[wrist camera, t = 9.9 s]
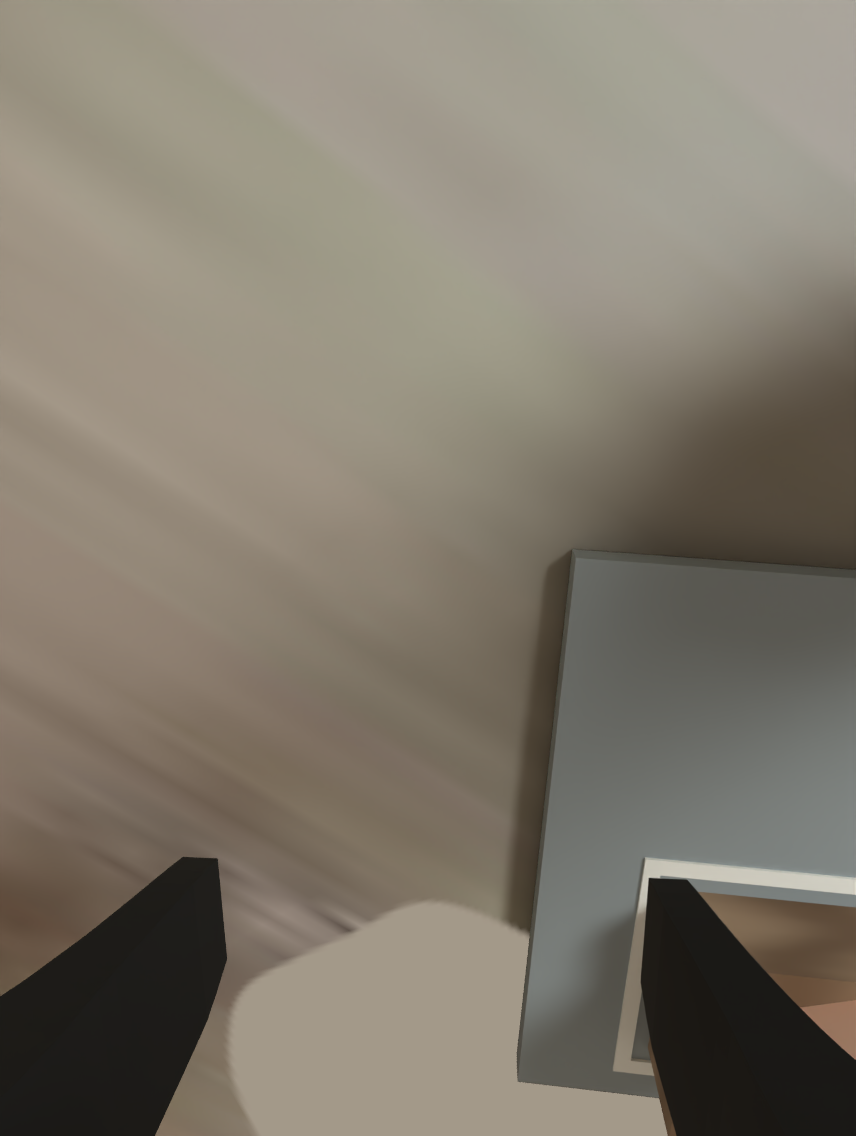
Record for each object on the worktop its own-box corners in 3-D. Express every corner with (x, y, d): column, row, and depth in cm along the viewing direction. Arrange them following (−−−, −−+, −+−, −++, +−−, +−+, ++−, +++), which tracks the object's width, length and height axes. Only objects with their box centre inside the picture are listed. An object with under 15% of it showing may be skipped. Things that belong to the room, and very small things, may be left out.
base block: (880, 910, 22) (938, 990, 19) (839, 1069, 24) (887, 1166, 21) (674, 888, 23) (700, 965, 20) (647, 1047, 24) (668, 1139, 21)
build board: (1017, 581, 21) (1046, 593, 19) (876, 1096, 25) (893, 1128, 24) (572, 549, 21) (576, 559, 20) (516, 1054, 26) (517, 1084, 25)
